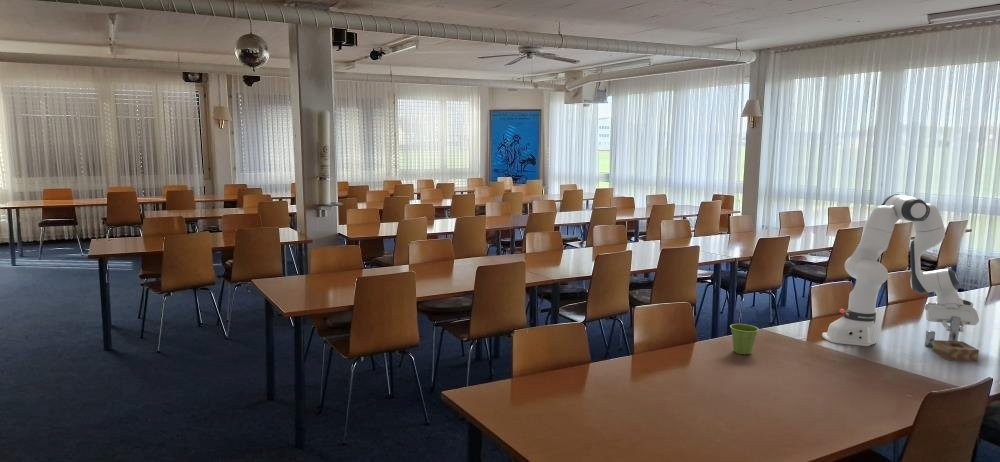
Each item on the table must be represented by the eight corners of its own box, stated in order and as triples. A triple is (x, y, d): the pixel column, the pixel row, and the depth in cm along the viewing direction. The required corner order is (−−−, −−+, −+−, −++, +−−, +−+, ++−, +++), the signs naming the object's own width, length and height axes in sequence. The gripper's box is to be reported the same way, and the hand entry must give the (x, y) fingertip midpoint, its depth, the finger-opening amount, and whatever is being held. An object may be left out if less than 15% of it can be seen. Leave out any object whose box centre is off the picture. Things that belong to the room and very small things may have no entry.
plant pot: (759, 357, 280) (761, 332, 278) (730, 355, 282) (731, 330, 280) (754, 349, 291) (756, 324, 290) (726, 347, 294) (728, 322, 292)
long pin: (950, 348, 295) (954, 318, 293) (945, 345, 298) (949, 315, 296) (958, 348, 295) (962, 318, 292) (954, 346, 298) (958, 316, 296)
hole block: (947, 359, 281) (948, 348, 280) (932, 350, 293) (933, 340, 292) (977, 361, 280) (979, 350, 279) (961, 352, 291) (962, 341, 291)
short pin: (926, 347, 298) (928, 332, 297) (923, 344, 301) (924, 330, 300) (935, 347, 298) (936, 332, 297) (931, 345, 301) (932, 330, 300)
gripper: (926, 298, 303) (931, 325, 295) (977, 302, 297) (983, 329, 290) (921, 305, 308) (926, 331, 300) (971, 309, 302) (977, 336, 294)
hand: (954, 330), depth 295 cm, fingers closed on long pin, 3 cm apart
